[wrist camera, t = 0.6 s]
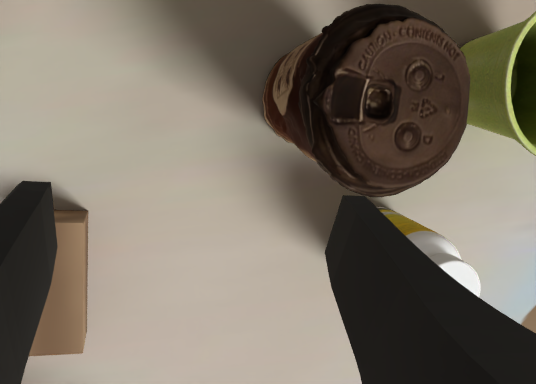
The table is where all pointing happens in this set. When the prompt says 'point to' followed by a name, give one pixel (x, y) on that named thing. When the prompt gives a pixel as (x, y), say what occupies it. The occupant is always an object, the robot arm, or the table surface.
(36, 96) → the table surface
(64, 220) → the t block
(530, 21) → the plant pot
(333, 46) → the coffee cup
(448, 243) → the supplement bottle
